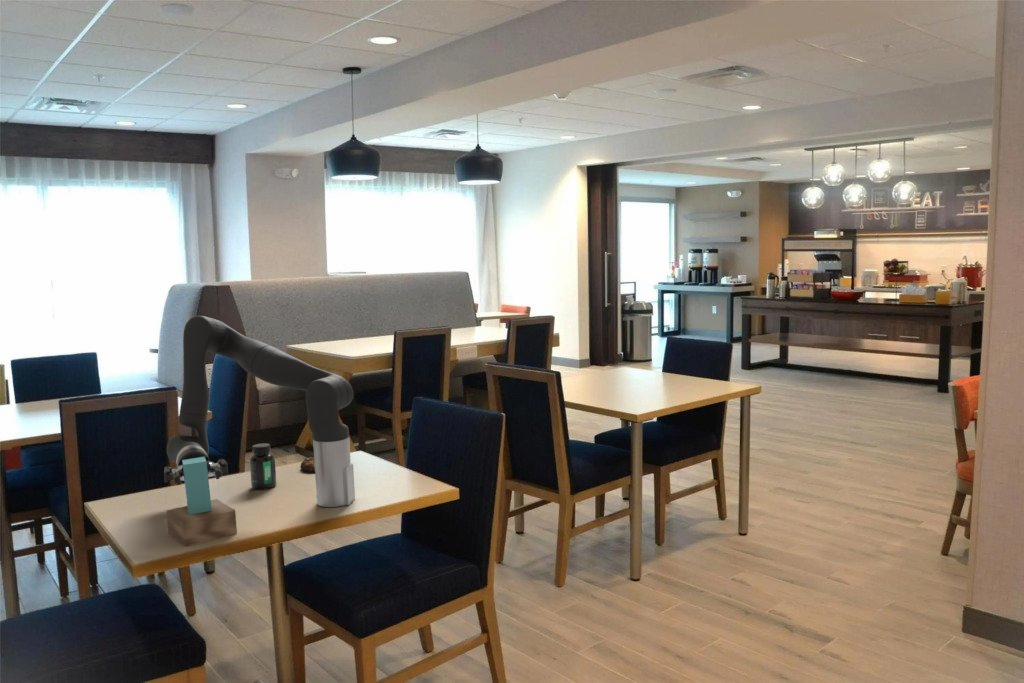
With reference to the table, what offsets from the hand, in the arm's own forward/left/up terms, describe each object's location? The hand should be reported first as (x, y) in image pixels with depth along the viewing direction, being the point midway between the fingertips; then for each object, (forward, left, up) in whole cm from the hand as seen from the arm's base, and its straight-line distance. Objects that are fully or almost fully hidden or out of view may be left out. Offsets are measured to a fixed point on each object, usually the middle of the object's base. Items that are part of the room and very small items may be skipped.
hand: (198, 477), depth 188 cm
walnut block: (+1, -2, -14) cm, 14 cm away
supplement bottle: (0, -39, -14) cm, 42 cm away
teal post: (+1, -2, -8) cm, 9 cm away
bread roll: (-10, -58, -14) cm, 60 cm away
